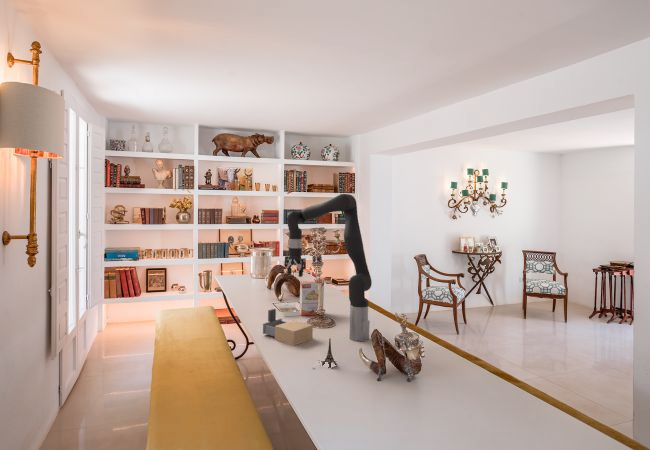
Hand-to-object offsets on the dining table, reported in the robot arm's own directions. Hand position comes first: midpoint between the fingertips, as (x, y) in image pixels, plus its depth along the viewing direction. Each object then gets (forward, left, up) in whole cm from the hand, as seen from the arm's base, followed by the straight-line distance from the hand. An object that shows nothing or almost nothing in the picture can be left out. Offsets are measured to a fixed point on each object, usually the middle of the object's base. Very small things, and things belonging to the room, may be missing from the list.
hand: (294, 275), depth 238 cm
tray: (-7, +18, -27) cm, 33 cm away
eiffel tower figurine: (-51, +31, -29) cm, 66 cm away
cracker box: (+8, -24, -28) cm, 38 cm away
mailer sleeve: (-16, +18, -28) cm, 37 cm away
